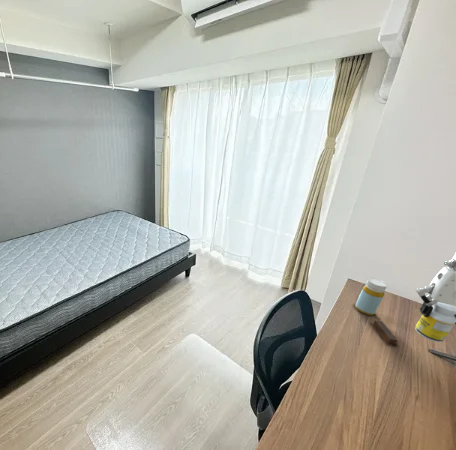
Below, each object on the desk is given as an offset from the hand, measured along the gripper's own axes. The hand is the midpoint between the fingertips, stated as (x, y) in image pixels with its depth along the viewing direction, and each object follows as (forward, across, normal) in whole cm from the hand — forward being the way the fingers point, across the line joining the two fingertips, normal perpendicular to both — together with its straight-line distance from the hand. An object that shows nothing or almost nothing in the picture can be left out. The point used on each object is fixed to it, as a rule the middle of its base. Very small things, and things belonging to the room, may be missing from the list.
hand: (438, 317), depth 75 cm
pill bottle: (+7, 0, 0) cm, 7 cm away
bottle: (+21, -5, +27) cm, 35 cm away
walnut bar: (+21, -3, +13) cm, 25 cm away
